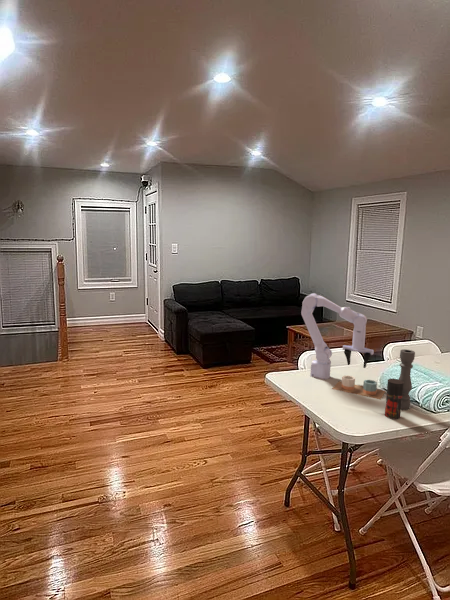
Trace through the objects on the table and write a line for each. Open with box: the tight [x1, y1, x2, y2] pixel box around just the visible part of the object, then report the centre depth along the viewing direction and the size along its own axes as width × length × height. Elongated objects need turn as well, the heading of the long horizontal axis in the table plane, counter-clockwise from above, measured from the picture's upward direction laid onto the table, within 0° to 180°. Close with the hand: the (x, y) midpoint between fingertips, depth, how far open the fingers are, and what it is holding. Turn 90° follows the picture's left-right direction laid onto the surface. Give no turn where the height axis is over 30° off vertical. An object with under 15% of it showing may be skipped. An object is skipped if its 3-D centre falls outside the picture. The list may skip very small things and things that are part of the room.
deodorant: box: [384, 378, 404, 420], centre depth 167 cm, size 6×6×15 cm
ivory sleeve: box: [341, 375, 356, 390], centre depth 194 cm, size 6×6×5 cm
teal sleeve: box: [362, 379, 378, 395], centre depth 189 cm, size 6×6×5 cm
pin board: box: [331, 381, 386, 400], centre depth 192 cm, size 22×12×5 cm, turn 59°
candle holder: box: [398, 349, 416, 411], centre depth 175 cm, size 6×6×25 cm
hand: (356, 365), depth 201 cm, fingers open, 7 cm apart
